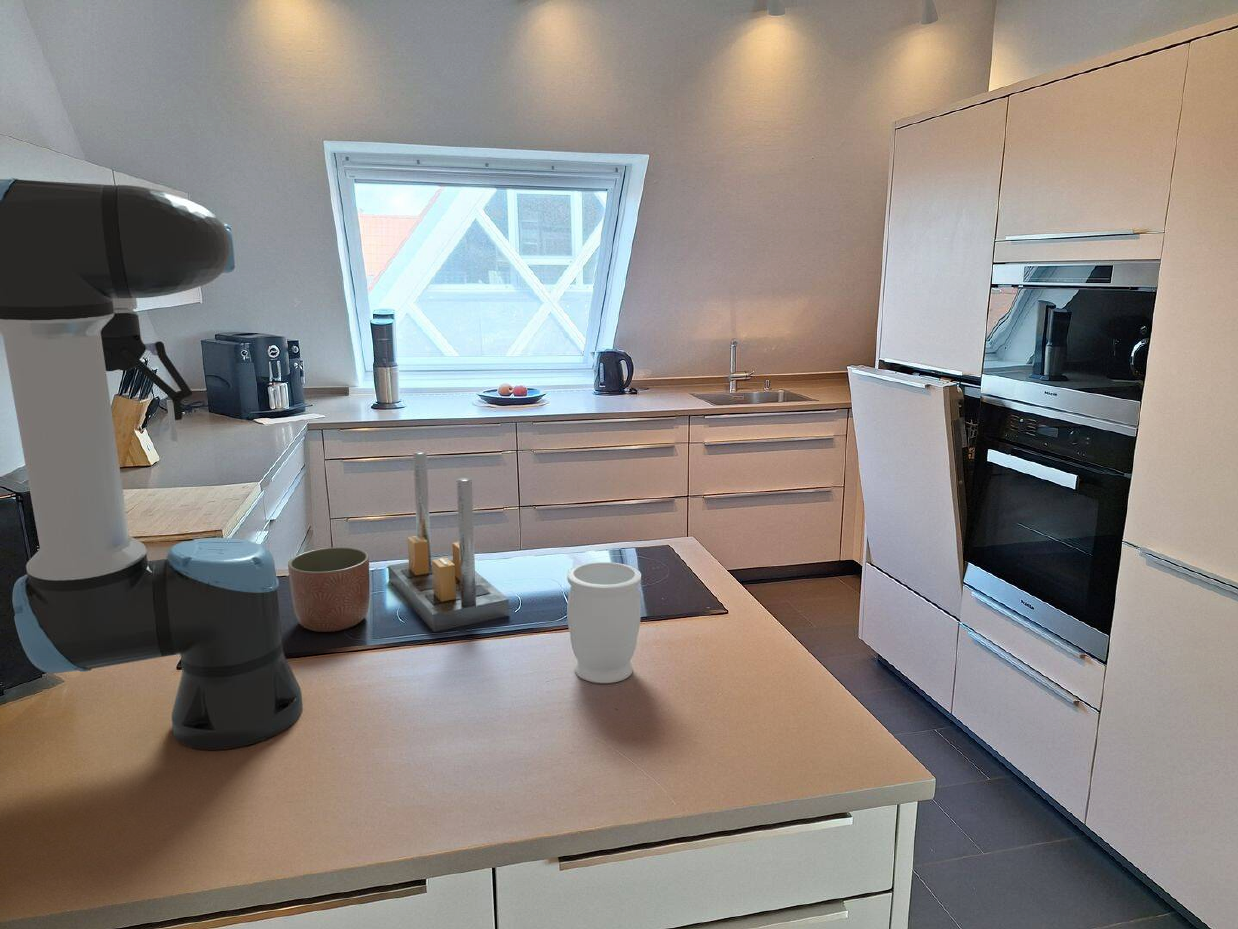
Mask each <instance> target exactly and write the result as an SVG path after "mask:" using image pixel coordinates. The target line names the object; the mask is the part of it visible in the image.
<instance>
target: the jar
mask: <svg viewBox="0 0 1238 929" xmlns="http://www.w3.org/2000/svg"><path fill="white" fill-rule="evenodd" d="M641 582H642V573H641V572H640V571H639V569H637V568H635V567H634V566H631V565H628V564H624V563H620V562H613V561H612V562H611V561H593V562H586V563H582V564H579V565H576V566H573V567H572V568H570V570H568V572H567V583H568V584H569V585H570V589H569V590H568V595H567V596H568V597H567V607H566V617H567V626H568V632H569V636H570V638H569V639H570V644H571V649H572V651H573V654H574V656H575V658H576V660H577V661H576V662H575V664H574V671H575V673H576V675H577V677H579V678H581V679H583V680H584V681H587V682H591V683H595V684H612V683H613V684H614V683H619V682H621V681H624V680H626V679H627V678H629V677H630V676H631V675H632V673H633V670H634V669H633V664H632V662H631V660H632V658H633V656H634V654H635V650H636V648H637V643H638V642H637V641H638V636H639V631H640V626H641V616H642V615H641V614H642V613H641V612H642V610H641V608H642V607H641V596H640V591H639V588H638V586H639V585H640V584H641Z"/></svg>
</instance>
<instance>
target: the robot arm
mask: <svg viewBox="0 0 1238 929" xmlns="http://www.w3.org/2000/svg"><path fill="white" fill-rule="evenodd" d="M235 264H236V263H235V251H234V240H233V233H232V228H231V226H230V225H229V224H227V223H225V222H221V220H220V219H219V217H217V215H216V214H214V213H213V212H211V211H210V210H208V209H207V208H206V207H204V206H203V205H201V204H199V203H196V202H194V201H191V200H189V199H187V198H184V197H181V196H179V195H175V194H171V193H169V192H165V191H161V190H158V189H154V188H149V187H143V186H139V185H127V184H103V183H102V184H101V183H99V184H98V183H83V182H82V183H81V182H64V181H63V182H62V181H45V180H30V179H29V180H27V179H18V178H15V177H12V178H5V179H4V178H1V179H0V335H1V336H2V338H3V345H4V351H5V357H6V363H7V368H8V373H9V380H10V386H11V391H12V396H13V402H14V407H15V408H14V410H15V412H16V419H17V420H16V421H17V424H18V430H19V431H18V432H19V437H20V442H21V448H22V453H23V459H24V464H25V471H26V476H27V482H28V487H29V493H30V499H31V504H32V511H33V516H34V522H35V527H36V532H37V539H38V543H39V549H38V550H37V552H36V553H35V554H34V555H33V556H32V557H31V558H30V559H29V560H28V561H27V563H26V565H25V566H26V574H24V575H23V576H21V577H19V578H18V579H17V580H16V581H15V583H14V586H13V587H12V588H13V589H12V600H11V601H12V607H13V608H12V609H13V610H14V624H15V628H16V632H17V634H18V638H19V641H20V643H21V646H22V648H23V651H24V652H25V655H26V656H27V658H28V659H29V661H30V662H31V663H32V665H34V667H36V669H39V670H40V671H41V672H44V673H46V674H62V673H63V674H65V673H71V672H76V671H77V672H82V673H83V672H90V671H92V670H93V669H99V668H100V669H101V668H105V667H110V666H116V665H124V664H129V663H134V662H141V661H147V660H152V659H159V658H164V657H171V656H178V655H179V657H180V662H181V664H180V665H181V676H180V680H179V684H178V688H177V692H176V695H175V696H176V697H175V700H174V704H173V707H172V712H171V724H172V725H171V726H172V732H173V736H174V738H175V740H176V741H177V742H179V743H180V744H182V745H184V746H186V747H188V748H193V749H197V750H204V751H205V750H206V751H208V750H209V751H218V750H228V749H235V748H237V749H238V748H239V747H241V748H242V747H245V746H250V745H253V744H257V743H259V742H262V741H265V740H267V739H270V738H271V737H274V736H276V735H277V734H279V733H282V732H283V731H285V730H286V729H288V728H289V727H291V726H292V725H293V724H294V723H295V722H296V721H297V720H298V719H299V717H300V716H301V714H302V712H303V708H304V707H303V696H302V689H301V687H300V684H299V683H298V680H297V678H296V677H295V676H296V675H295V674H294V672H293V670H292V668H291V666H290V664H289V662H288V660H287V658H286V655H285V652H284V648H283V646H284V645H283V635H282V634H283V633H282V625H281V614H280V607H279V606H280V604H279V597H278V596H279V595H278V589H279V587H280V586H279V585H280V581H279V579H278V577H277V571H276V566H275V565H276V564H275V559H274V557H273V554H272V553H271V551H270V550H269V549H268V548H267V547H265V546H263V545H261V544H260V543H256V542H254V541H250V540H246V539H240V538H232V537H203V538H195V539H191V540H189V541H187V540H186V541H182V542H181V541H180V542H179V543H176V544H174V545H172V547H170V549H169V550H168V553H167V554H166V558H162V559H153V560H148V555H147V554H148V553H147V547H146V546H145V544H144V543H143V542H141V541H139V540H137V539H136V538H135V537H133V536H131V535H130V532H129V526H128V520H127V519H128V518H127V512H126V511H127V510H126V503H125V497H124V496H125V495H124V490H123V483H122V476H121V475H122V474H121V468H120V461H119V455H118V448H117V440H116V434H115V426H114V419H113V412H112V404H111V397H110V390H109V384H108V382H109V381H108V376H107V372H114V371H125V372H126V371H127V372H128V371H130V370H133V369H134V368H136V369H137V370H138V371H139V372H140V373H141V374H143V375H144V376H145V377H146V378H147V379H148V380H150V382H152V383H153V384H154V385H155V386H156V387H157V388H159V389H160V390H161V391H162V392H164V394H165V395H167V396H168V397H169V398H170V399H169V400H166V407H167V416H168V425H169V433H170V440H171V442H178V435H177V427H176V426H177V425H176V421H181V420H182V418H183V411H182V403H181V402H182V400H184V399H185V398H188V397H191V396H192V395H193V391H192V390H191V389H190V388H191V387H189V386H188V384H187V382H186V381H185V380H184V378H183V377H182V375H181V374H180V372H179V371H178V369H177V368H176V367H175V365H174V364H173V362H172V361H171V360H170V358H169V357H168V355H167V352H166V347H165V344H164V342H162V341H161V340H156V341H154V342H148V343H147V342H145V343H144V342H143V339H142V336H141V328H140V327H141V326H140V320H139V319H140V318H139V314H137V312H135V311H134V310H136V309H137V308H138V301H137V299H147V298H156V297H157V298H159V297H165V296H169V295H173V294H179V293H182V292H187V291H190V290H193V289H196V288H199V287H202V286H205V285H207V284H209V283H211V282H213V281H215V280H217V278H219V277H220V276H221V275H222V274H224V273H225V274H226V273H231V272H233V271H234V270H235V266H236V265H235ZM146 351H149V352H150V353H151V354H152V355H153V356H157V357H158V359H159V361H160V362H161V363H162V365H163V366H164V368H165V369H166V370H167V372H168V374H169V375H170V376H171V378H172V379H173V380H174V382H175V384H176V385H177V386H178V388H179V389H180V390H178V391H176V390H174V388H172V387H171V386H170V385H169V384H168V383H167V382H165V380H163V379H162V378H161V377H160V376H159V375H158V374H156V372H155V371H153V370H152V369H151V368H150V367H148V365H146V364H145V363H144V362H143V361H142V360H141V359H142V357H143V355H144V354H145V353H146Z"/></svg>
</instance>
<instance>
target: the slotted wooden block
mask: <svg viewBox="0 0 1238 929" xmlns="http://www.w3.org/2000/svg"><path fill="white" fill-rule="evenodd" d="M432 566H433V589H434V594H435V596H436V597H437V598H438V599H439V600H440V601H441V602H442V601H447V600H452V599H456V584H455V564H453V563H452V562H451V561H450V560H449V559H448V558H440V559H436V560H432Z"/></svg>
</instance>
